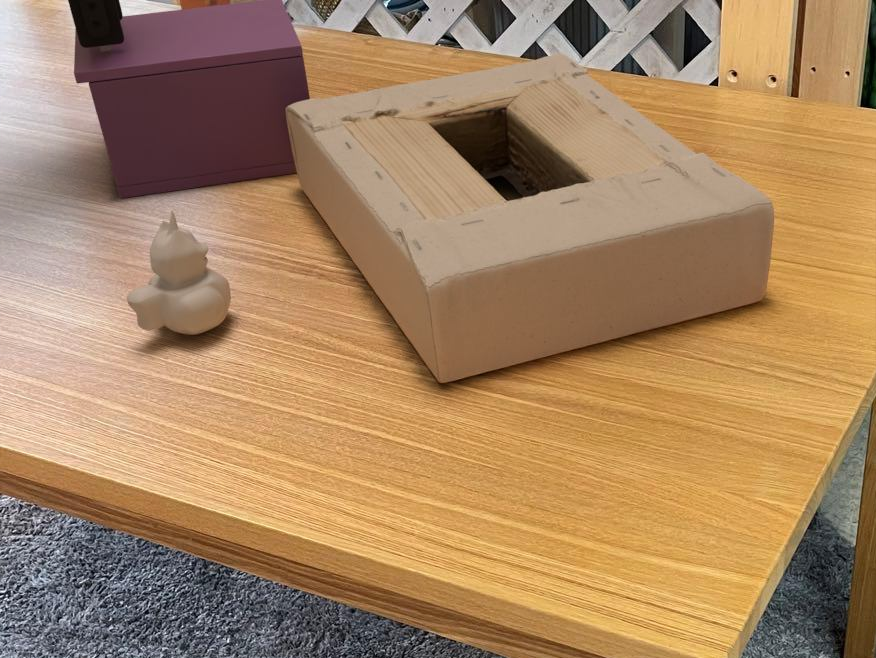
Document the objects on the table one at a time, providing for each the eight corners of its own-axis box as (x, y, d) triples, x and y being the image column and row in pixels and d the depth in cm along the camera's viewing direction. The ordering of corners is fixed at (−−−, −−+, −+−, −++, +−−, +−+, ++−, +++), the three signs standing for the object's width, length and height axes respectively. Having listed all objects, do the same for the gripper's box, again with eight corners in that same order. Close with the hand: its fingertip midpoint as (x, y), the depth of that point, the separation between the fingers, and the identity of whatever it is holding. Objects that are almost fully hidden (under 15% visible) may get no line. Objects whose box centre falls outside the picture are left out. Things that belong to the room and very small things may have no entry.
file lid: (76, 84, 86) (52, 0, 82) (78, 31, 95) (57, -46, 91) (303, 56, 89) (290, -26, 85) (282, 8, 98) (270, -68, 95)
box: (292, 193, 92) (437, 392, 69) (276, 93, 87) (426, 272, 64) (560, 141, 99) (771, 306, 77) (559, 46, 94) (784, 192, 72)
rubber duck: (254, 327, 76) (229, 211, 71) (162, 365, 73) (129, 247, 68) (212, 298, 79) (185, 184, 74) (122, 333, 76) (87, 218, 71)
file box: (120, 198, 92) (88, 83, 86) (117, 138, 101) (88, 31, 95) (321, 169, 95) (303, 56, 89) (300, 114, 104) (283, 8, 98)
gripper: (-22, -262, 84) (54, 7, 96) (-42, -229, 71) (49, 75, 83) (87, -269, 85) (149, -4, 97) (86, -239, 73) (157, 62, 84)
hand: (102, 30), depth 90 cm, fingers closed on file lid, 5 cm apart
